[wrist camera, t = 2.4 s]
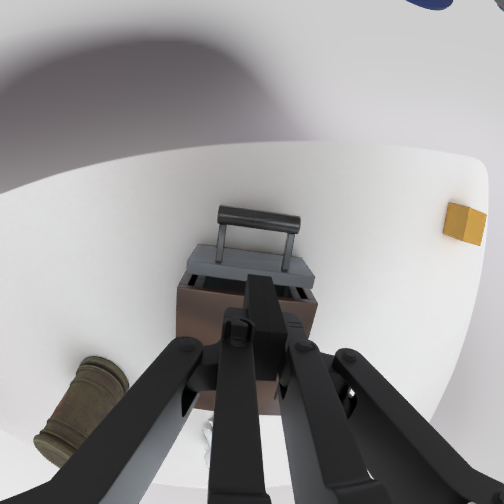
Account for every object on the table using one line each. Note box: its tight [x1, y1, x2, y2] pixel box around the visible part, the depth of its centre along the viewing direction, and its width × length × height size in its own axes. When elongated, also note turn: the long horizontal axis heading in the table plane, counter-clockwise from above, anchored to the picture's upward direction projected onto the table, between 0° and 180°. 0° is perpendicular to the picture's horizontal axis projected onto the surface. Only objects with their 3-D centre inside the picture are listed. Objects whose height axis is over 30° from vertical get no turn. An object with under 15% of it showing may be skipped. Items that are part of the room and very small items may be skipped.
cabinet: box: [176, 270, 318, 415], centre depth 29 cm, size 16×13×8 cm
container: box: [34, 357, 129, 469], centre depth 26 cm, size 9×9×18 cm
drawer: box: [186, 205, 315, 299], centre depth 28 cm, size 20×11×6 cm, turn 172°
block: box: [443, 203, 487, 246], centre depth 28 cm, size 4×4×4 cm
